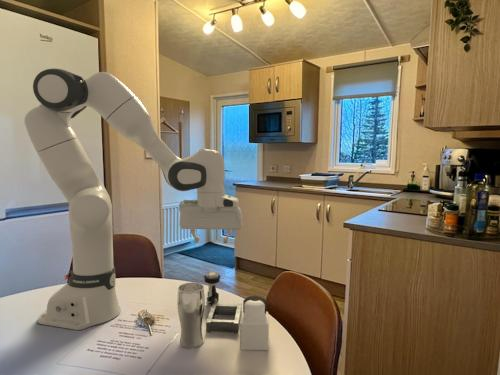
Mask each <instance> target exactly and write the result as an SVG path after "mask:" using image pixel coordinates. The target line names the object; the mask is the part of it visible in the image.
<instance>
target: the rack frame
mask: <svg viewBox="0 0 500 375" xmlns="http://www.w3.org/2000/svg"><path fill="white" fill-rule="evenodd" d="M242 305H243V303H237V304H230V303H228V304H227V303H218V302H217V303H213V305H212V306H210V307H211V308H210V310H209V313H208V315H207V318H206V322H205V332H206V333H207V334H208V333H233V334H234V335H238V334H239V333H240V323H241V315H242V311H243V310H242V309H243V306H242ZM216 316H228V317H231V316H234V319H216Z"/></svg>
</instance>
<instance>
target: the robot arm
mask: <svg viewBox="0 0 500 375" xmlns="http://www.w3.org/2000/svg"><path fill="white" fill-rule="evenodd" d="M32 91H33V94H34V96H35V98H36V100H37V101H38V102H39V103H40V104H39V105H38V106H35V107H34V108H31V109H30V110H29V111H28V112H27V113H26V115H25V116H24V126H25V128H26V131H27V133H28V137H29V138H30V141H31V143H32V145H33V147H34V149H35V151H36V153H37V155H38V157H39V158H40V160H41V162H42V164H43V165H44V168H45V169H46V171H47V172H48V174H49V176H50V178H51V179H52V181H53V182H54V183H55V185H56V186H57V188H58V189H59V190H60V191H61V193H62V195H63V196H64V198H65V199H66V201H67V202H68V221H69V233H70V238H71V239H70V241H71V253H72V254H71V256H72V270H71V271H69V272H68V273H67V274H65V275H64V281H66V280H67V279H68V281H67V283H65V285H63V286H62V287H61V288H60V289H59V290H57V291H56V292H55V293H53V294H52V295H51V297H50V298H49V299H48V301H47V305H46V309H45V310H44V311H42V313H41V314H40V315H39V316H38V318H37V324H38V323H39V325H44V326H50V327H57V328H63V329H70V330H76V331H80V330H81V331H82V330H85V329H88V328H89V327H92V326H95V325H96V326H97V325H99V324H103V323H105V322H106V323H107V322H109V321H111V320H113V319H114V318H116V317H117V316H118V315H119V314H120V312H121V306H120V305H119V301H118V300H119V299H118V297H117V293H116V292H117V291H116V277H117V276H116V266H115V265H114V245H113V240H114V238H113V230H114V229H113V205H112V200H111V196H110V195H109V193H108V191H107V189H106V187H105V185H104V184H103V182H102V180H101V178H100V176H99V175H98V173H97V171H96V169H95V167H94V165H93V163H92V162H91V160H90V157H88V154H87V152H86V150H85V149H84V147H83V145H82V143H81V141H80V139H79V138H78V135H77V133H76V132H75V130H74V128H73V126H72V123H71V119H74V118H75V117H76V116H77V115H79V114H80V113H81V112H83V111H84V110H85V109H86V108H87V107H89V108H91V109H93V110H94V111H96V112H97V113H98V114H99V115H100V116H101V118H102V119H104V121H105V122H106V123H107V124H108V125H109V126H110V127H112V128H113V129H114V130H115V131H116V132H117V133H119V134H120V135H122V136H123V137H124V138H126V139H127V140H129V141H131V142H133V143H134V144H136V145H137V146H139V147H140V148H141V149H142V150H144V152H146V153H147V154H148V156H149V157H151V159H152V160H153V161H154V162H155V163H156V164H157V165H158V167H159V168H160V170H161V171H162V174H163V177H164V179H165V182H166V183H167V184H168V185H169V187H171V188H173V189H175V190H176V191H179V192H188V191H193V190H196V194H197V195H196V198H197V199H191V200H190V199H189V200H188V199H184V200H183V201H180V202H179V204H178V211H179V213H180V214H179V228H180V229H182V230H190V233H191V236H192V237H193V239H194V240H193V241H194V243H196V244H198V243H200V241H201V240H200V239H201V236H199V235H197V233H196V232H197V230H219V231H220V230H223V231H224V230H225V231H226V233H227V235H226V236H223V240H222V241H223V242H222V243H223V244H228V243H229V238H230V236H231V235H232V234H231V233H233V232H232V231H233V230H234V231H239V230H241V229H242V228H243V226H244V224H243V221H244V220H243V212H242V209H241V208H240V206H239V203H240V202H239V198H238V197H234V196H231V195H228V194H226V188H225V184H224V183H225V179H226V176H225V175H226V171H225V170H226V168H225V160H224V155H223V154H222V153H221V152H220V151H218V150H215V149H209V148H208V149H207V148H200V149H199V150H197V151H196V152H195V153H193V154H191V155H188V156H187V157H184V158H182V157H179V156H178V155H176V153H174V152H173V151H172V150H171V149H170V148H169V147H168V145H167V144H166V143H165V142H164V141H163V140H162V138H160V136H159V135H158V133H157V132H156V130H155V126H154V124H153V119H152V118H151V116H150V114H149V112H148V110H147V109H146V106H144V104H143V103H142V102H141V100H140V99H139V98H138V97H137V95H135V93H133V92H132V90H131V89H130V88H128V87H127V86H126V85H125V83H123V82H122V81H121V80H120V79H119V78H117V77H116V76H115V75H113V74H112V73H109V72H108V71H100V72H97V73H94V74H93V75H91V76H90V77H88V78H86V79H85V78H84V77H82V76H81V75H78V74H76V73H72V72H70V71H68V70H65V69H61V68H47V69H44V70H42V71H40V72H39V73H38V74H36V76H35V78H34V79H33V83H32Z"/></svg>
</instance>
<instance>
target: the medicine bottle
mask: <svg viewBox="0 0 500 375" xmlns="http://www.w3.org/2000/svg"><path fill="white" fill-rule="evenodd" d="M242 305H243V306H242V309H243V310H242V313H241V320H240V326H239V333H240V334H239V336H240V337H239V339H240V340H239V343H240V344H239V349H240V350H241V351H265V352H266V351H269V342H270V340H269V339H270V338H269V336H270V334H269V333H270V331H269V330H270V329H269V328H270V326H269V324H270V323H269V322H270V321H269V312H268V311H267V299H265V298H264V297H262V296H258V295H250V296H248V297H246V298H244V300H243V301H242Z"/></svg>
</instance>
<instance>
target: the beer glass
mask: <svg viewBox="0 0 500 375" xmlns="http://www.w3.org/2000/svg"><path fill="white" fill-rule="evenodd" d="M205 303H206V301H205V286H204V285H203V284H202V283H200V282H186V283H181V284H180V285H179V286H178V288H177V304H176V305H177V315H178V320H179V324H180V336H179V346H181V348H184V349H188V350H193V349H196V348H199V347H201V346H202V344H204V337H203V331H202V330H203V328H202V327H203V320H204V315H205V307H206V305H205Z"/></svg>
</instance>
